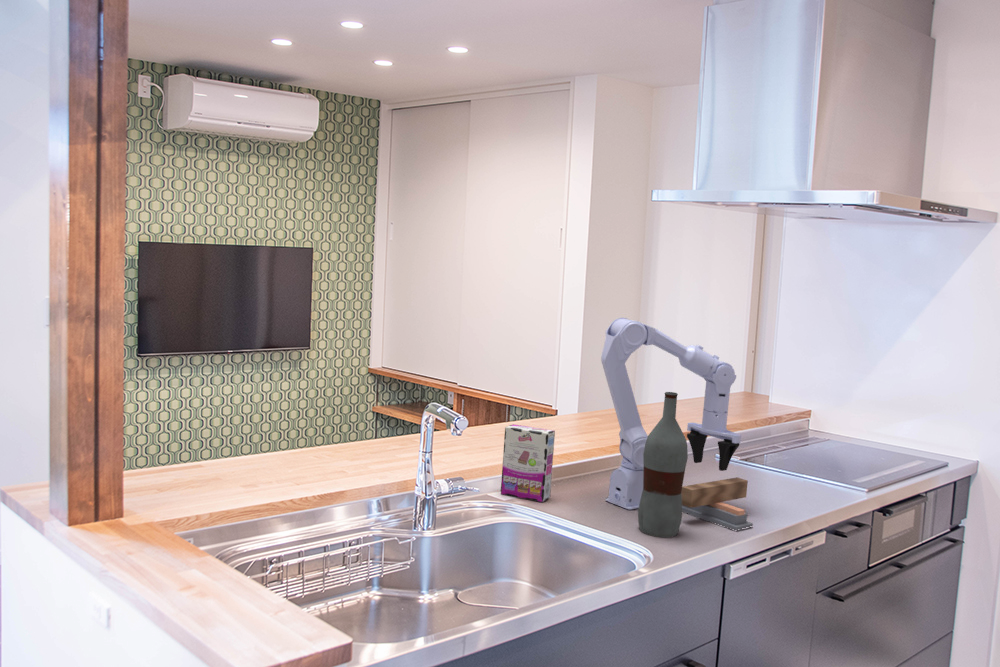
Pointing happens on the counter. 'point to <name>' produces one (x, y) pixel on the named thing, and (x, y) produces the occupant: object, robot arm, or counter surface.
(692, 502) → the walnut bar
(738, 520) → the stand
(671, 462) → the bottle
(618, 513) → the counter surface
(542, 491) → the candy bar box
